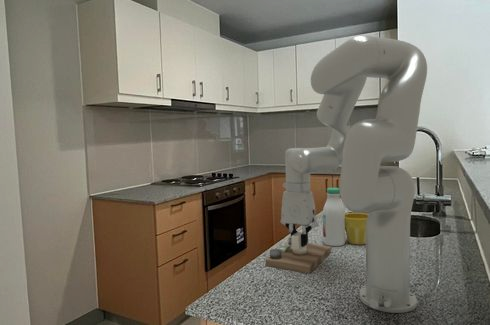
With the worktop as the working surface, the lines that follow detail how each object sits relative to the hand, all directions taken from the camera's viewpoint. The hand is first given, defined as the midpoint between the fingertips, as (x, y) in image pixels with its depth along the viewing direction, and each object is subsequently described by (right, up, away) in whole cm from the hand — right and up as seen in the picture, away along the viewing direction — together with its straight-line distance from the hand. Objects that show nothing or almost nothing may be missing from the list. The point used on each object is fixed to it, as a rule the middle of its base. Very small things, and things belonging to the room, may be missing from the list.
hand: (299, 244), depth 112 cm
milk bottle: (+15, -3, +15) cm, 21 cm away
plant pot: (+23, -3, +15) cm, 28 cm away
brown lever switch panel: (0, -5, 0) cm, 5 cm away
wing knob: (0, -3, 0) cm, 3 cm away
